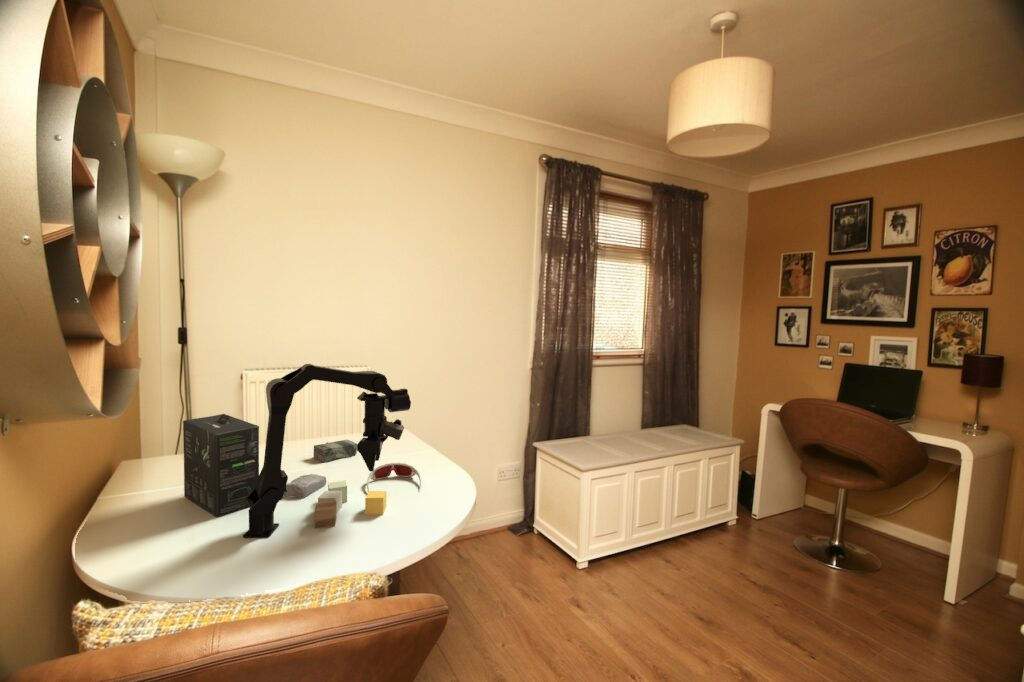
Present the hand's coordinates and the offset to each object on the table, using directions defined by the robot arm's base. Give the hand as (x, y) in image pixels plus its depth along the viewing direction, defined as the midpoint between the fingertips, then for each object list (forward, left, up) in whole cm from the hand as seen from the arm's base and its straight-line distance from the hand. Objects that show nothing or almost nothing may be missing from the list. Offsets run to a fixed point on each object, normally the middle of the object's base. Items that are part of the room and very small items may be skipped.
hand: (374, 465), depth 135 cm
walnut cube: (-11, +11, -12) cm, 20 cm away
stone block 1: (+12, +25, -12) cm, 30 cm away
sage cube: (+4, +12, -12) cm, 17 cm away
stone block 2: (+45, +23, -12) cm, 52 cm away
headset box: (+5, +46, -12) cm, 47 cm away
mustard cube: (-4, -1, -12) cm, 13 cm away
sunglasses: (+15, -4, -13) cm, 20 cm away
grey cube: (-4, +12, -12) cm, 17 cm away
